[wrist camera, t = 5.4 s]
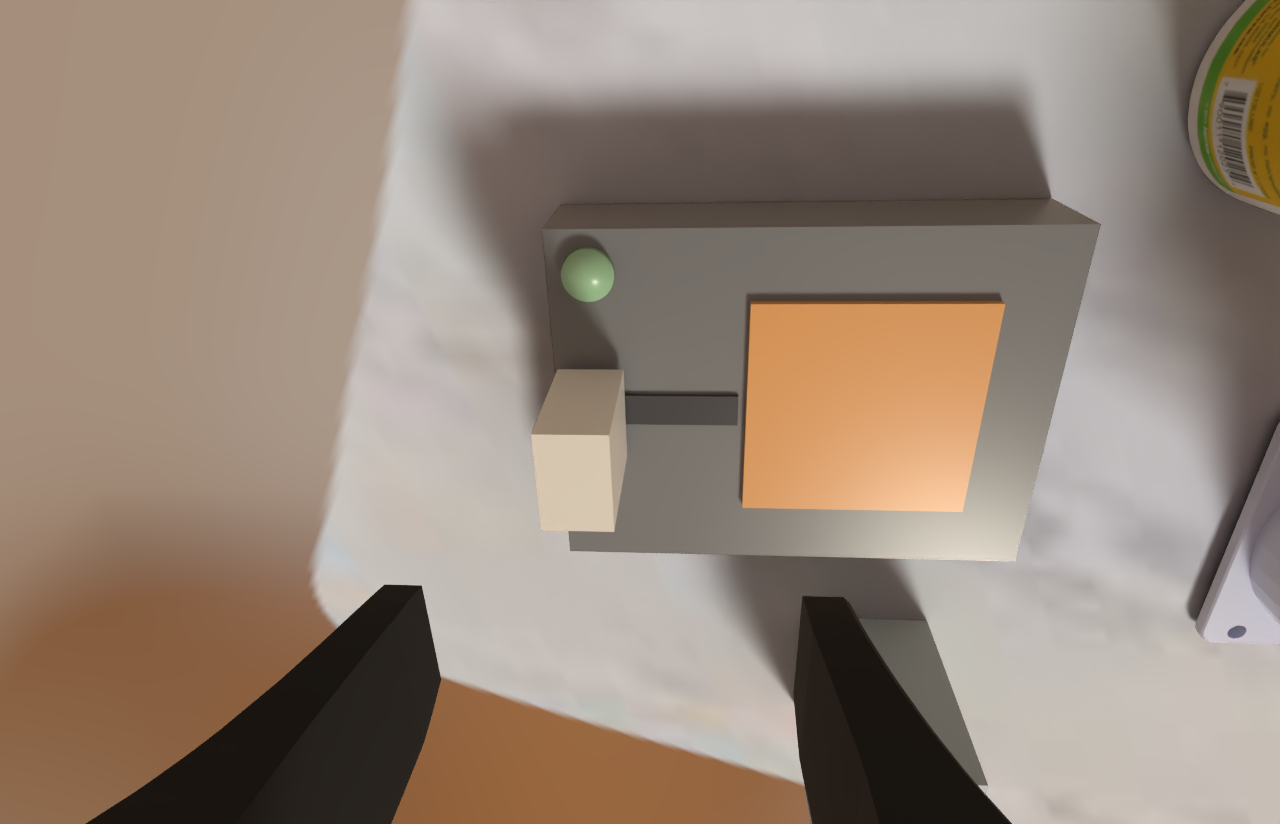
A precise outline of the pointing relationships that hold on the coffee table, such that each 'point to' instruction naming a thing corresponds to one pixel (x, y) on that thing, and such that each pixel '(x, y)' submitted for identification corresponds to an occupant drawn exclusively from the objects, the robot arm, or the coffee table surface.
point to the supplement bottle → (1241, 106)
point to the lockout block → (925, 684)
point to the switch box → (823, 368)
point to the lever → (581, 450)
